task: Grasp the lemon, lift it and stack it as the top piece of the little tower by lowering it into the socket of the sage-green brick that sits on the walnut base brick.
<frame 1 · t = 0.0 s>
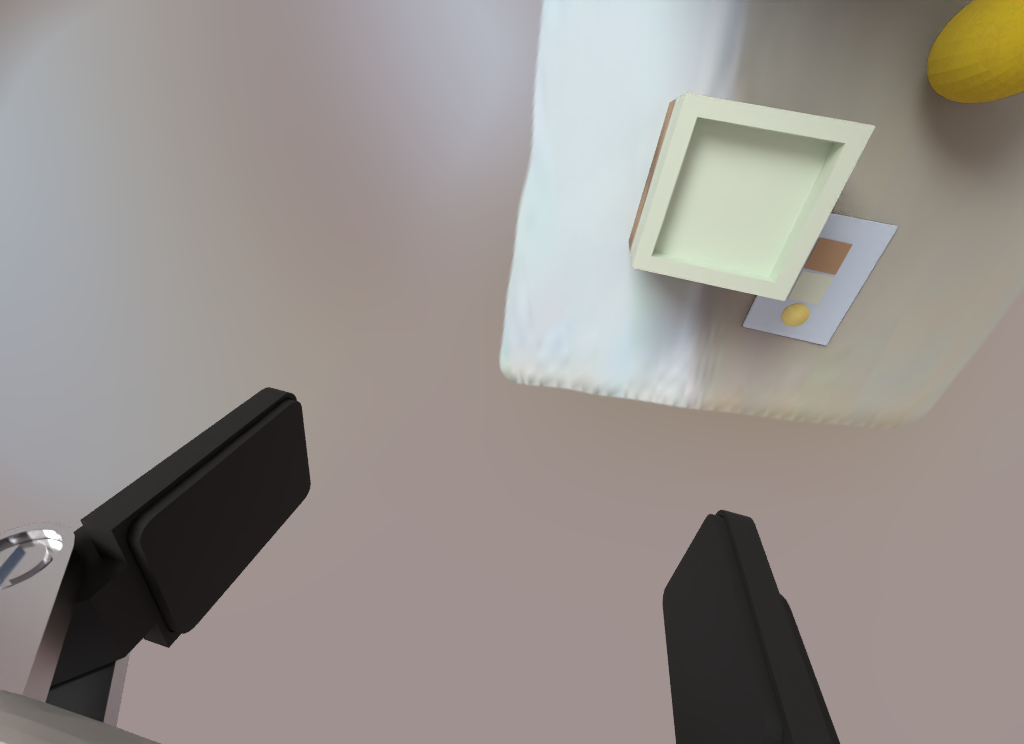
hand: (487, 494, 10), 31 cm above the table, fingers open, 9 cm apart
instruction card: (812, 280, 34), on the table
top brick: (723, 196, 29), point 4 cm above the table, touching base brick
lemon: (951, 55, 27), on the table
base brick: (712, 189, 33), on the table
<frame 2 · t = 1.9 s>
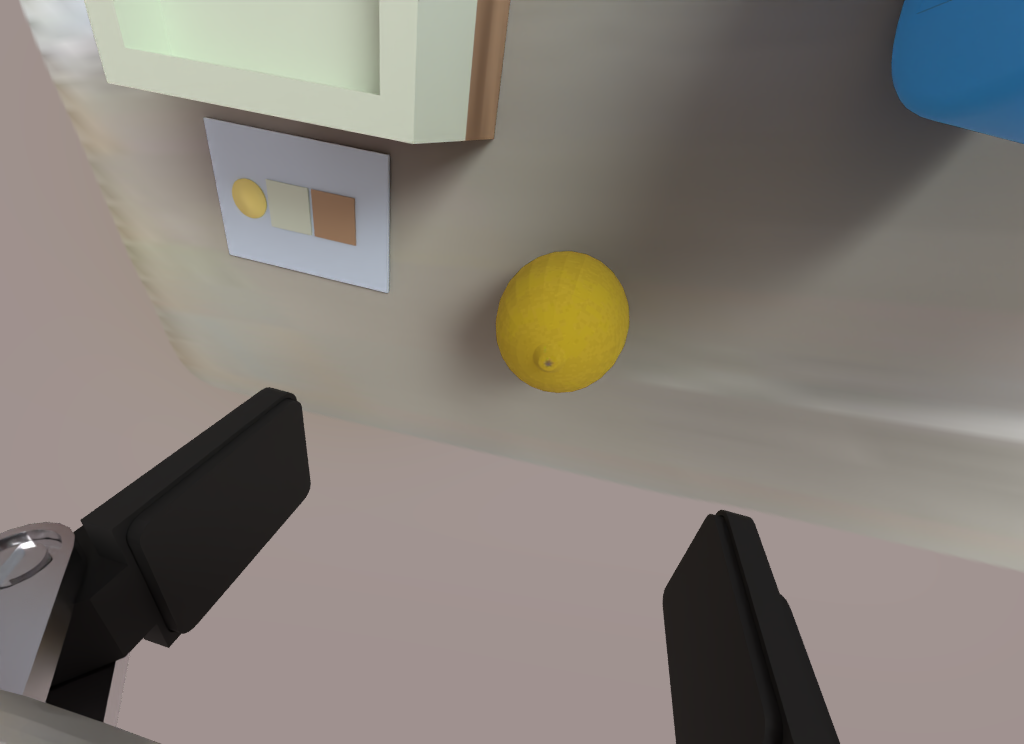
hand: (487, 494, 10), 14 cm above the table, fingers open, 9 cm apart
instruction card: (302, 209, 23), on the table
lemon: (572, 289, 22), on the table
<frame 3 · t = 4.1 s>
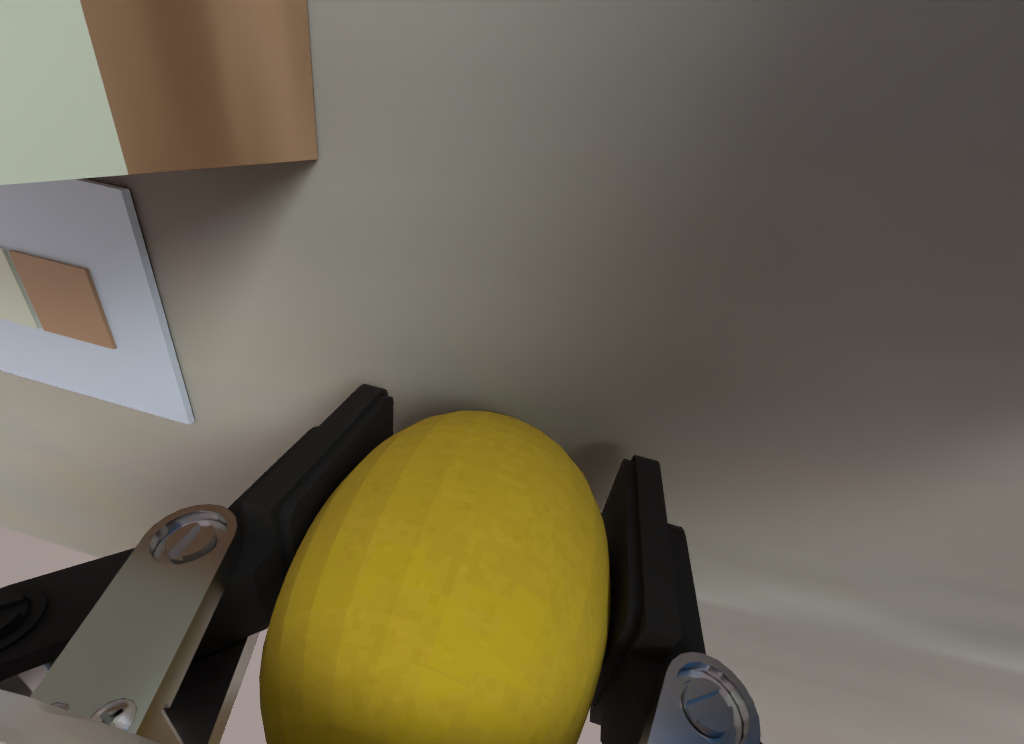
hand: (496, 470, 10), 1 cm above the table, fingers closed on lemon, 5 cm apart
instruction card: (15, 283, 12), on the table
lemon: (508, 437, 12), on the table, touching gripper
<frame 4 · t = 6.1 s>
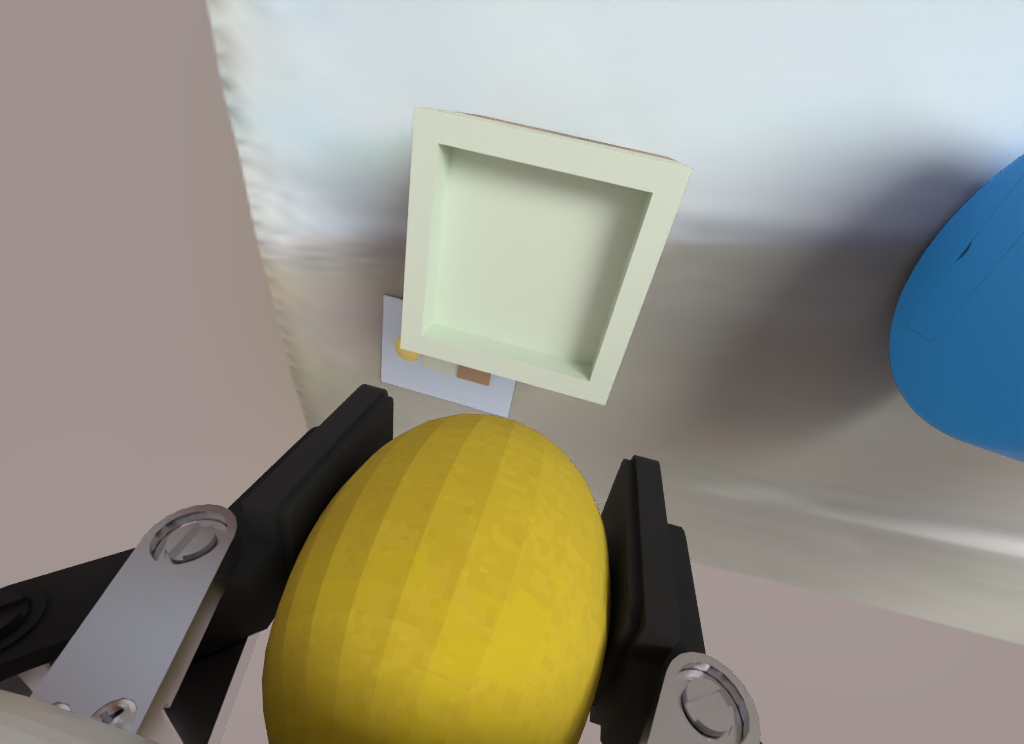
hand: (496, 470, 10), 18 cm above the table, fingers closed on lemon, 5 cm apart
instruction card: (449, 358, 30), on the table
top brick: (538, 248, 21), point 4 cm above the table, touching base brick
lemon: (508, 440, 12), point 16 cm above the table, touching gripper
base brick: (549, 232, 25), on the table
alarm clock: (984, 251, 21), on the table
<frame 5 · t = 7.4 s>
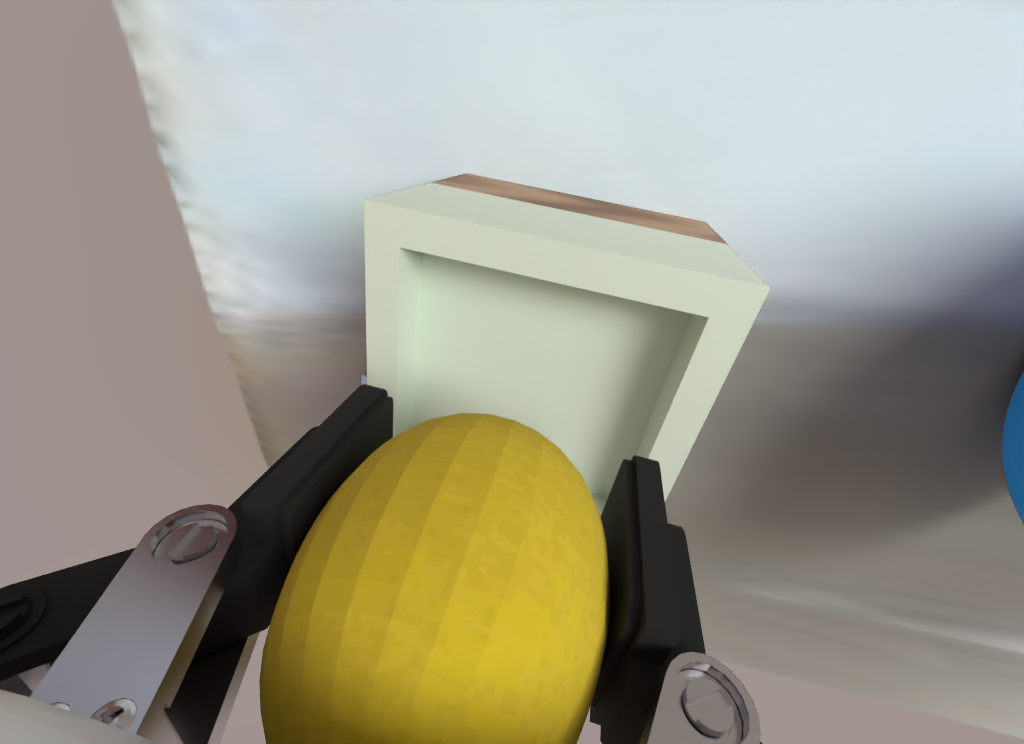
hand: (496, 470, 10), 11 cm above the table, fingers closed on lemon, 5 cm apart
top brick: (544, 345, 17), point 4 cm above the table, touching base brick
lemon: (508, 439, 12), point 10 cm above the table, touching gripper
base brick: (556, 309, 20), on the table
when the fingers open (9 cm above the table, at t = 8.6 s): lemon drops 1 cm, resting on top brick.
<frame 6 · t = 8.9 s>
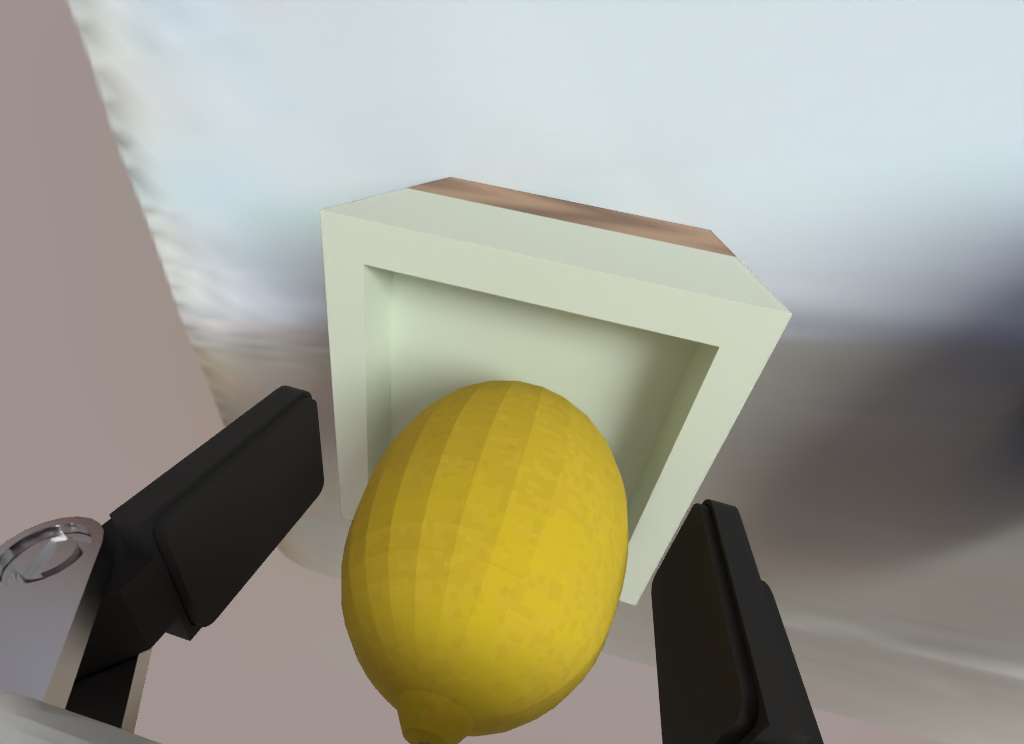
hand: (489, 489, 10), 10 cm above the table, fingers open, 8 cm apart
top brick: (534, 365, 15), point 4 cm above the table, touching base brick, lemon
lemon: (530, 411, 13), point 7 cm above the table, touching top brick
base brick: (549, 322, 19), on the table
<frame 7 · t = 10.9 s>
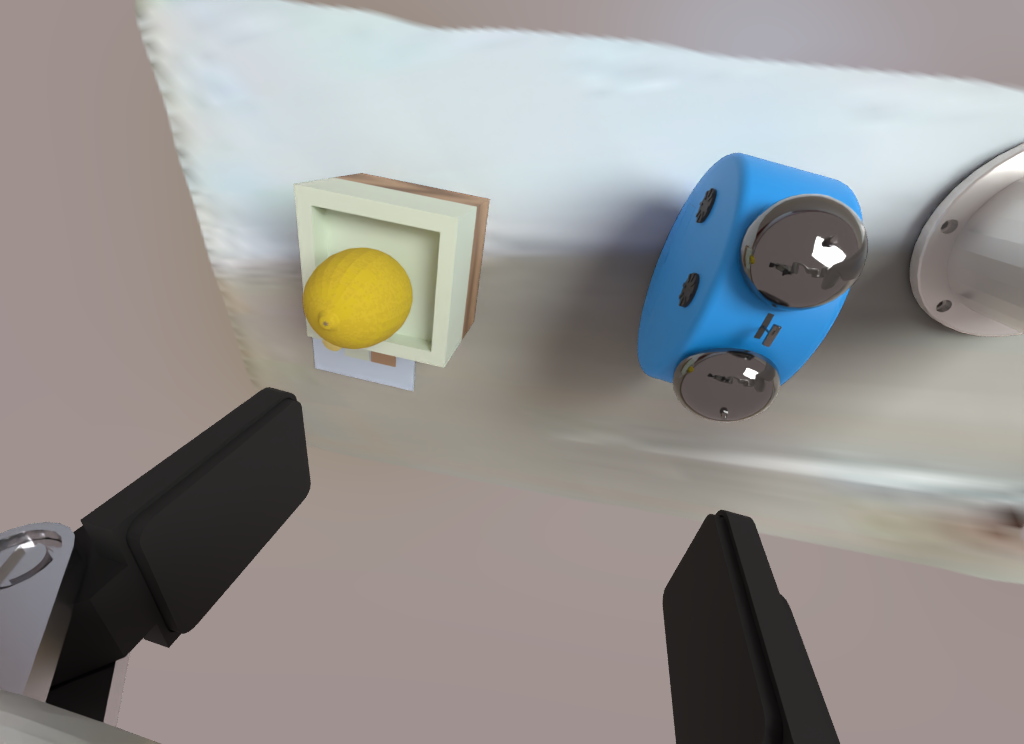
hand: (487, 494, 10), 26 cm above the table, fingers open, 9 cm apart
instruction card: (364, 347, 40), on the table
top brick: (402, 264, 31), point 4 cm above the table, touching base brick, lemon
lemon: (391, 277, 29), point 7 cm above the table, touching top brick
base brick: (421, 252, 34), on the table
alarm clock: (699, 255, 31), on the table
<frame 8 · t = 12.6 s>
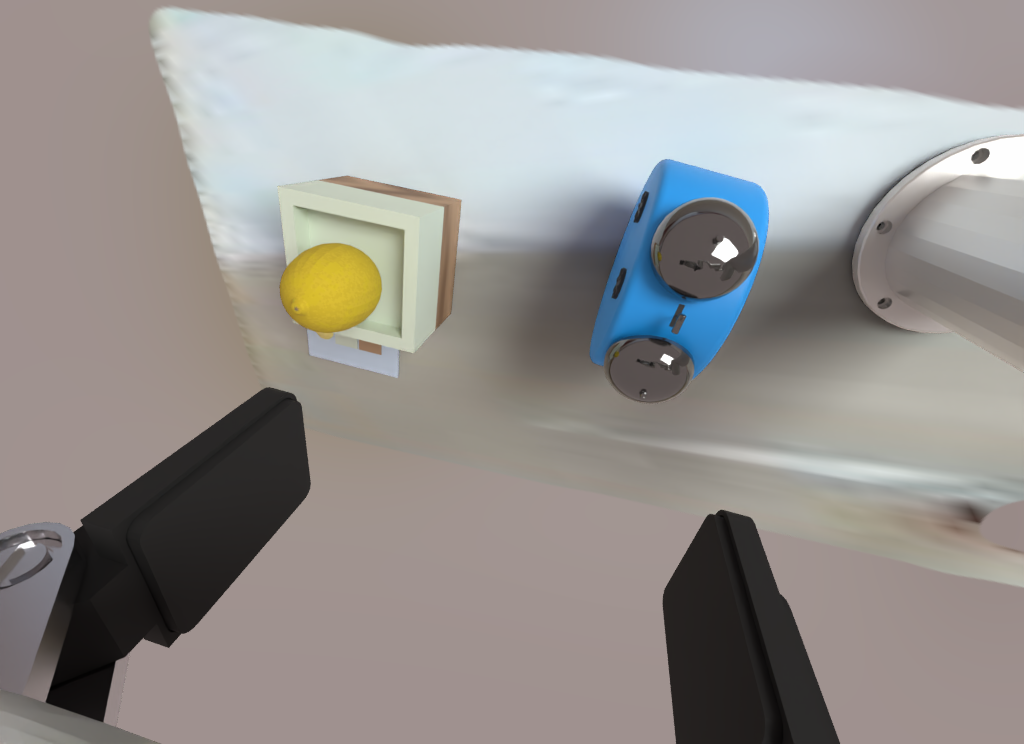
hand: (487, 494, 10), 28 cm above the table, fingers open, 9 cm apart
instruction card: (352, 336, 43), on the table
top brick: (380, 259, 34), point 4 cm above the table, touching base brick, lemon
lemon: (366, 270, 32), point 7 cm above the table, touching top brick
base brick: (401, 248, 37), on the table
alarm clock: (655, 253, 33), on the table
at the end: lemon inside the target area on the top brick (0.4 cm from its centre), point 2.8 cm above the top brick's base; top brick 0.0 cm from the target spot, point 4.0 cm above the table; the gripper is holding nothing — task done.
